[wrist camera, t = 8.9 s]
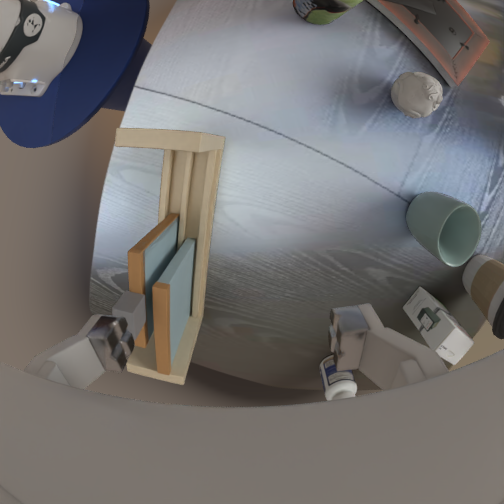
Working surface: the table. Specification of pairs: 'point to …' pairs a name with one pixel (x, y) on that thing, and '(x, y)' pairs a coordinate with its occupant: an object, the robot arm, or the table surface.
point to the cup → (444, 227)
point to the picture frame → (438, 33)
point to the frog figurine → (416, 94)
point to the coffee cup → (487, 289)
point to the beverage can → (323, 9)
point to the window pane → (147, 277)
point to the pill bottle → (336, 381)
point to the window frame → (179, 246)
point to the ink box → (438, 326)
